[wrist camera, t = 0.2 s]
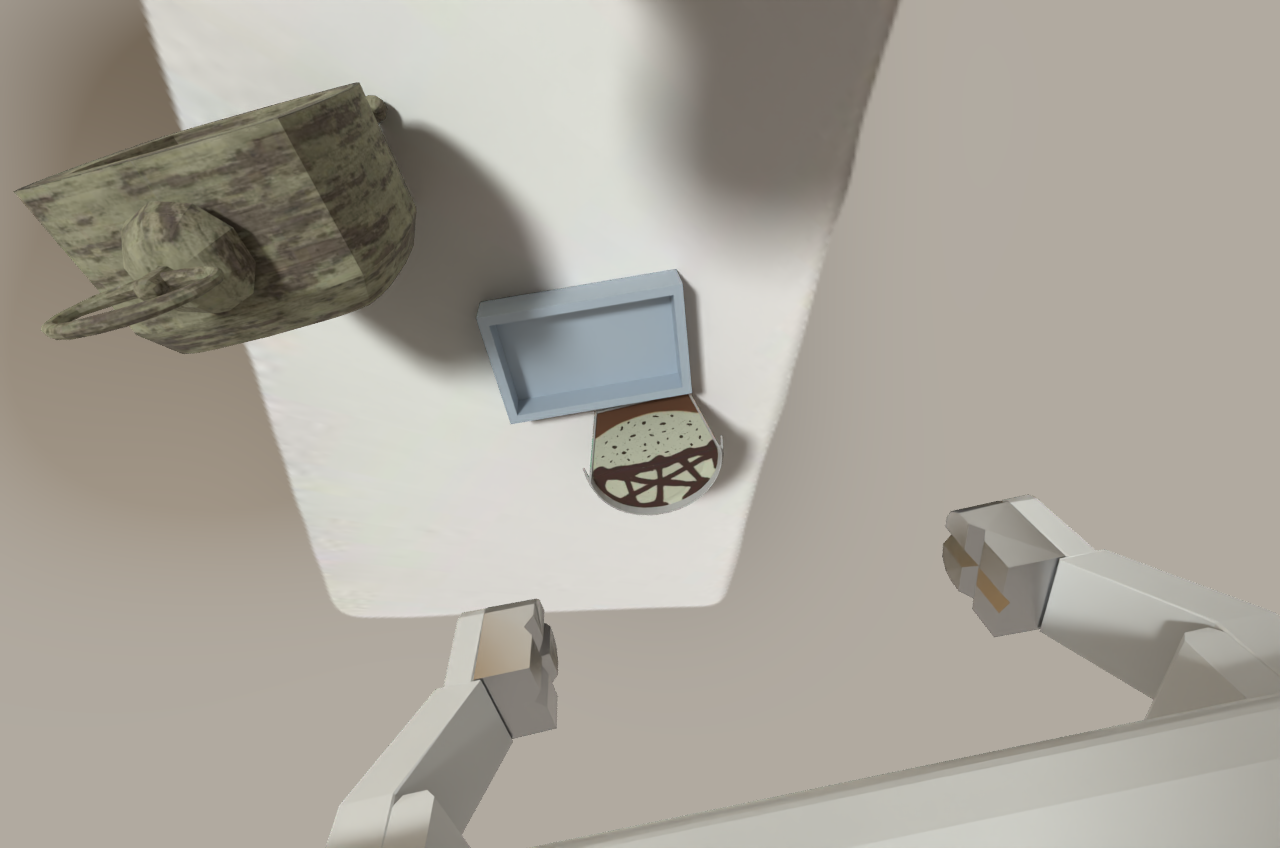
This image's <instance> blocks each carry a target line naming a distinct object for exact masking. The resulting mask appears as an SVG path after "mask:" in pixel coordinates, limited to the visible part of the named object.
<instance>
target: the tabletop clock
mask: <svg viewBox="0 0 1280 848" xmlns="http://www.w3.org/2000/svg"><path fill="white" fill-rule="evenodd" d="M386 114H387V107H386V106H385V104H384V102H383V100H381V99H380V98H378V97H377V96H372V95H368V96H365V94H364V92H363V90H362V87H361V85H360V83H353V84H349V85H345V86H341V87H337V88H333V89H330V90H326V91H322V92H319V93H315V94H311V95H308V96H304V97H300V98H297V99H293V100H290V101H286V102H282V103H279V104H275V105H271V106H268V107H264V108H261V109H257V110H254V111H250V112H247V113H243V114H239V115H236V116H232V117H229V118H225V119H222V120H218V121H215V122H211V123H208V124H204V125H201V126H197V127H194V128H190V129H187V130H184V131H180V132H177V133H174V134H170V135H167V136H164V137H161V138H158V139H155V140H151V141H148V142H145V143H142V144H139V145H137V146H134V147H131V148H128V149H125V150H122V151H119V152H116V153H114V154H111V155H108V156H105V157H103V158H100V159H97V160H94V161H91V162H89V163H85V164H83V165H80V166H77V167H75V168H72V169H69V170H66V171H64V172H61V173H59V174H56V175H53V176H51V177H48V178H45V179H42V180H40V181H38V182H35V183H32V184H30V185H27V186H25V187H22V188H21V189H18V190H16V191H14V193H15V194H16V195H17V196H18V197H19V199H20V200H21V201H22V202H23V203H24V204H25V206H26V207H27V208H28V209H29V210H30V211H31V213H32V214H33V215H34V216H35V217H36V218H37V219H38V221H39V222H40V223H41V224H42V225H43V227H44V228H45V229H46V230H47V231H48V232H49V234H50V235H51V236H52V237H53V238H54V239H55V241H56V242H57V243H58V244H59V245H60V246H61V248H62V249H63V250H64V251H65V252H66V253H67V254H68V256H69V257H70V258H71V259H72V260H73V262H75V264H76V265H77V266H78V267H79V268H80V270H81V271H82V272H83V273H84V274H85V275H86V277H87V278H88V279H89V280H90V281H91V282H92V284H93V285H94V286H95V287H96V288H97V289H98V290H99V292H100V293H99V294H97V295H94V296H92V297H90V298H88V299H86V300H84V301H82V302H80V303H78V304H76V305H74V306H72V307H70V308H68V309H66V310H64V311H62V312H60V313H58V314H56V315H55V316H53V317H52V318H50V319H49V320H48V321H46V322H45V323H44V324H43V325H42V327H41V328H42V330H41V331H42V332H43V333H44V334H45V335H47V336H48V337H50V338H53V339H56V340H71V339H76V338H81V337H86V336H92V335H97V334H101V333H105V332H108V331H112V330H115V329H119V328H123V327H127V326H129V327H130V328H131V329H132V330H133V331H134V332H135V334H137V335H138V336H141V337H143V338H145V339H148V340H150V341H153V342H155V343H158V344H160V345H162V346H165V347H167V348H170V349H172V350H175V351H177V352H179V353H182V354H189V353H190V354H191V353H200V352H206V351H210V350H215V349H219V348H223V347H227V346H231V345H235V344H240V343H244V342H248V341H252V340H256V339H260V338H265V337H269V336H272V335H276V334H279V333H283V332H286V331H290V330H294V329H297V328H301V327H304V326H308V325H311V324H315V323H318V322H322V321H325V320H329V319H332V318H335V317H339V316H342V315H344V314H347V313H350V312H353V311H355V310H358V309H360V308H362V307H365V306H367V305H370V304H371V303H372V302H374V301H375V300H376V299H377V298H378V297H380V296H381V295H382V294H383V293H384V292H385V291H386V290H387V289H388V288H389V286H390V285H391V284H392V283H393V281H394V280H395V278H396V277H397V275H398V274H399V272H400V271H401V269H402V268H403V266H404V265H405V263H406V261H407V259H408V257H409V254H410V252H411V250H412V247H413V244H414V231H415V217H416V207H415V205H414V202H413V200H412V198H411V196H410V193H409V191H408V189H407V187H406V185H405V182H404V180H403V178H402V176H401V174H400V171H399V169H398V167H397V165H396V163H395V160H394V158H393V156H392V154H391V151H390V149H389V147H388V145H387V143H386V140H385V138H384V136H383V134H382V132H381V129H380V127H379V125H378V123H379V122H381V121H382V120H384V119H385V118H386ZM377 122H378V123H377ZM111 306H112V307H113V308H114V309H115V310H113V311H109V312H106V313H102V314H98V315H94V316H90V317H87V318H83V319H79V320H75V319H77V318H79V317H81V316H83V315H86V314H89V313H92V312H95V311H98V310H101V309H104V308H108V307H111ZM73 320H74V321H73Z"/></svg>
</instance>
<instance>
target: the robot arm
mask: <svg viewBox="0 0 1280 848" xmlns="http://www.w3.org/2000/svg"><path fill="white" fill-rule="evenodd" d="M946 528H947V529H948V531H949V532H950V533H951V536H950V537H949V538H948V539H947V540H946V541H945V543H944V544H943V555H942V557H943V561H944V565H945V569H946V572H947V574H948V576H949V578H950V579H951V581H952V583H953V584H954V585H955V587H956V588H957V589H958V591H960V592H962V593H964V594H966V595H968V596H970V597H972V598H973V608H972V609H973V611H974V612H975V613H976V614H977V616H978V617H979V618H980V619H981V621H982V622H983V623H984V625H985V626H986V627H987V629H988V630H989V631H990V633H991V634H992V635H993V636H994V637H998V636H1003V635H1009V634H1015V633H1021V632H1026V631H1031V630H1037V629H1040V632H1042V633H1044V634H1045V635H1047V636H1048V637H1050V638H1052V639H1053V640H1055V641H1057V642H1058V643H1060V644H1062V645H1064V646H1065V647H1067V648H1068V649H1070V650H1072V651H1074V652H1075V653H1077V654H1078V655H1080V656H1082V657H1083V658H1085V659H1087V660H1088V661H1090V662H1092V663H1094V664H1095V665H1097V666H1098V667H1100V668H1102V669H1103V670H1105V671H1107V672H1108V673H1110V674H1112V675H1113V676H1115V677H1117V678H1119V679H1120V680H1122V681H1124V682H1125V683H1127V684H1128V685H1130V686H1132V687H1133V688H1135V689H1137V690H1138V691H1140V692H1142V693H1143V694H1145V695H1147V696H1148V697H1150V698H1152V699H1153V702H1152V704H1151V707H1150V709H1149V711H1148V713H1147V715H1146V717H1145V719H1144V720H1143V721H1138V722H1133V723H1128V724H1124V725H1118V726H1113V727H1109V728H1104V729H1099V730H1094V731H1089V732H1085V733H1080V734H1075V735H1070V736H1065V737H1060V738H1056V739H1051V740H1046V741H1041V742H1036V743H1032V744H1027V745H1022V746H1017V747H1012V748H1008V749H1003V750H998V751H993V752H988V753H983V754H979V755H974V756H969V757H964V758H959V759H954V760H950V761H945V762H940V763H936V764H931V765H926V766H921V767H916V768H911V769H906V770H902V771H897V772H892V773H887V774H882V775H877V776H872V777H868V778H863V779H858V780H853V781H849V782H844V783H839V784H834V785H829V786H825V787H820V788H815V789H810V790H805V791H801V792H796V793H791V794H786V795H781V796H777V797H772V798H767V799H762V800H757V801H753V802H748V803H743V804H738V805H734V806H729V807H724V808H720V809H714V810H710V811H705V812H700V813H695V814H690V815H685V816H680V817H676V818H671V819H666V820H661V821H657V822H651V823H647V824H642V825H638V826H632V827H628V828H623V829H618V830H613V831H608V832H603V833H599V834H594V835H589V836H584V837H579V838H575V839H569V840H565V841H560V842H555V843H550V844H545V845H540V846H536V847H531V848H1280V616H1279V615H1277V614H1276V613H1275V612H1272V611H1270V610H1267V609H1264V608H1262V607H1259V606H1256V605H1254V604H1251V603H1248V602H1245V601H1243V600H1240V599H1237V598H1234V597H1232V596H1229V595H1227V594H1224V593H1221V592H1219V591H1216V590H1213V589H1210V588H1208V587H1205V586H1202V585H1200V584H1197V583H1194V582H1192V581H1189V580H1186V579H1183V578H1181V577H1178V576H1175V575H1173V574H1170V573H1167V572H1164V571H1162V570H1159V569H1156V568H1154V567H1151V566H1148V565H1146V564H1143V563H1140V562H1138V561H1135V560H1132V559H1129V558H1127V557H1124V556H1121V555H1118V554H1116V553H1113V552H1111V551H1108V550H1105V549H1104V550H1098V551H1096V550H1095V549H1094V548H1093V547H1092V546H1090V545H1089V544H1088V543H1087V542H1086V541H1085V540H1084V539H1083V538H1081V537H1080V536H1079V535H1078V534H1077V533H1076V532H1075V531H1073V530H1072V529H1071V528H1070V527H1069V526H1068V525H1067V524H1066V523H1064V522H1063V521H1062V520H1061V519H1060V518H1059V517H1058V516H1057V515H1055V514H1054V513H1053V512H1052V511H1051V510H1050V509H1048V508H1047V507H1046V506H1045V505H1044V504H1043V503H1042V502H1041V501H1040V500H1038V499H1037V498H1036V497H1034V496H1031V495H1023V496H1019V497H1014V498H1010V499H1005V500H1002V501H996V502H991V503H986V504H982V505H977V506H973V507H969V508H964V509H959V510H955V511H951V512H950V513H949V515H948V516H947V520H946ZM557 675H558V657H557V648H556V643H555V639H554V635H553V632H552V629H551V627H550V626H549V625H547V624H546V623H544V609H543V607H542V604H541V602H540V600H539V599H532V600H526V601H521V602H515V603H510V604H505V605H499V606H494V607H488V608H485V609H480V610H475V611H469V612H464V613H462V614H461V616H460V617H459V619H458V621H457V626H456V630H455V635H454V640H453V644H452V649H451V654H450V658H449V663H448V668H447V672H446V677H445V682H444V686H443V687H442V688H438V689H435V691H434V692H433V693H432V694H431V695H430V697H429V698H428V699H427V700H426V702H425V703H424V704H423V705H422V706H421V707H420V709H419V710H418V711H417V712H416V714H415V715H414V716H413V717H412V718H411V720H410V721H409V722H408V723H407V724H406V726H405V727H404V728H403V729H402V731H401V732H400V733H399V734H398V735H397V736H396V738H395V739H394V740H393V741H392V743H391V744H390V745H389V746H388V748H387V749H386V750H385V751H384V752H383V754H382V755H381V756H380V757H379V758H378V760H377V761H376V762H375V763H374V764H373V766H372V767H371V768H370V769H369V770H368V772H367V773H366V774H365V775H364V776H363V778H362V779H361V780H360V781H359V782H358V784H357V785H356V786H355V787H354V789H353V790H352V791H351V792H350V793H349V795H348V796H347V797H346V798H345V799H344V801H343V802H342V803H341V804H340V806H339V808H338V811H337V814H336V818H335V821H334V824H333V827H332V830H331V833H330V836H329V839H328V842H327V845H326V848H470V846H469V845H468V843H467V842H466V841H465V839H464V838H463V836H462V833H463V832H464V830H465V828H466V826H467V824H468V823H469V821H470V819H471V817H472V815H473V813H474V812H475V809H476V808H477V806H478V804H479V802H480V801H481V799H482V797H483V795H484V793H485V792H486V790H487V788H488V786H489V784H490V782H491V781H492V779H493V777H494V775H495V773H496V772H497V770H498V768H499V766H500V764H501V763H502V761H503V759H504V757H505V755H506V753H507V752H508V750H509V748H510V746H511V744H512V743H513V741H512V739H514V738H518V737H522V736H526V735H531V734H535V733H539V732H543V731H547V730H552V729H556V728H557V693H556V691H555V688H554V686H553V684H552V682H553V681H554V679H555V678H556V677H557Z"/></svg>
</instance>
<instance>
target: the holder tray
mask: <svg viewBox="0 0 1280 848" xmlns="http://www.w3.org/2000/svg"><path fill="white" fill-rule="evenodd" d="M476 320H477V323H478V326H479V329H480V332H481V335H482V338H483V341H484V344H485V347H486V350H487V353H488V356H489V360H490V363H491V366H492V369H493V372H494V375H495V378H496V381H497V384H498V387H499V390H500V393H501V396H502V399H503V402H504V405H505V408H506V411H507V414H508V417H509V420H510V423H511V424H515V423H521V422H527V421H533V420H538V419H544V418H550V417H556V416H562V415H568V414H573V413H579V412H585V411H591V410H597V409H603V408H608V407H614V406H620V405H626V404H632V403H638V402H643V401H649V400H655V399H661V398H667V397H672V396H678V395H684V394H690V393H692V387H691V375H690V363H689V352H688V340H687V329H686V317H685V306H684V294H683V284H682V281H681V279H680V277H679V275H678V272H677V270H676V269H674V270H668V271H662V272H656V273H650V274H644V275H638V276H633V277H627V278H621V279H615V280H609V281H603V282H597V283H591V284H585V285H579V286H573V287H567V288H561V289H555V290H549V291H543V292H537V293H531V294H525V295H519V296H513V297H507V298H501V299H495V300H489V301H483V302H480V305H479V309H478V313H477V317H476Z"/></svg>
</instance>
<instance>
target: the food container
mask: <svg viewBox="0 0 1280 848" xmlns="http://www.w3.org/2000/svg"><path fill="white" fill-rule="evenodd" d="M722 460H723V438H722V436H721V445H720V446H719V444H718V442H717V440H716V439H715V437H714V435H713V433H712V431H711V429H710V428H709V426H708V424H707V422H706V420H705V418H704V417H703V415H702V413H701V411H700V409H699V407H698V406H697V404H696V402H695V400H694V398H693V396H692V395H691V393H690V394H684V395H678V396H672V397H667V398H661V399H655V400H649V401H643V402H638V403H632V404H626V405H620V406H615V407H611V408H607V409H603V410H599V411H595V413H594V426H593V439H592V451H591V464H590V476H588V474H587V472H586V470H585V468H583V471H584V473H585V476H586V478H587V480H588V482H589V485H590V486H591V488H592V489H593V490H594V492H595V493H596V494H597V495H598V497H599V498H601V499H602V500H603V501H604V502H605V503H607V504H608V505H610V506H611V507H613V508H615V509H617V510H620V511H623V512H626V513H630V514H636V515H659V514H664V513H669V512H672V511H676V510H679V509H681V508H683V507H686V506H688V505H689V504H691V503H693V502H695V501H696V500H697V499H699V498H700V497H701V496H703V495H704V494H705V493H706V492H707V491H708V490H709V488H710V487H711V486H712V485H713V483H714V482H715V480H716V478H717V476H718V474H719V471H720V468H721V464H722Z"/></svg>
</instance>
